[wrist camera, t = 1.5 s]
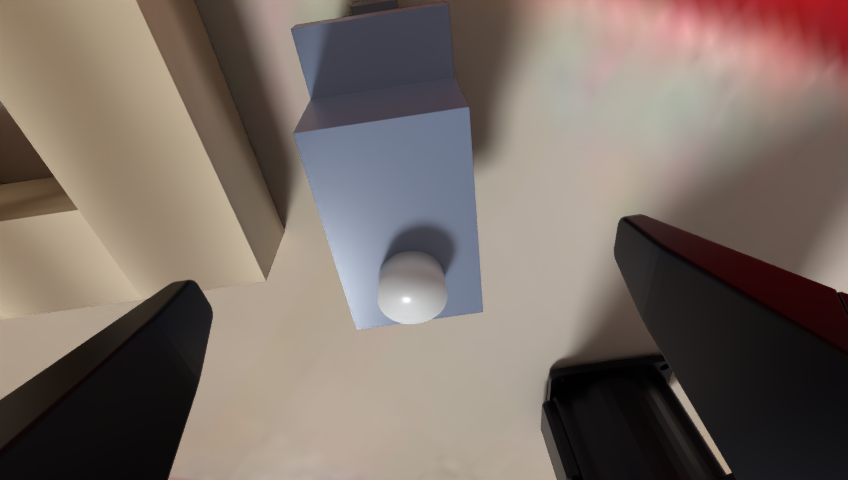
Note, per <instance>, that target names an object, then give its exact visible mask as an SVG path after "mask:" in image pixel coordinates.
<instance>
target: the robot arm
mask: <svg viewBox="0 0 848 480" xmlns="http://www.w3.org/2000/svg"><path fill="white" fill-rule="evenodd" d="M614 256H615V260H616V262H617V264H618V267H619V269H620V271H621V273H622V276H623V278H624V280H625V283H626V285H627V287H628V289H629V292H630V294H631V296H632V298H633V301H634V303H635V305H636V308H637V310H638V312H639V314H640V316H641V318H642V320H643V322H644V324H645V326H646V327H647V329H648V331H649V333H650V334H651V336H652V338H653V339H654V341H655V343H656V345H657V346H658V348H659V350H660V351H661V353H662V355H658V356H651V357H643V358H636V359H629V360H622V361H614V362H607V363H600V364H593V365H585V366H578V367H571V368H563V369H557V370H554V371H552V372H551V373H550V374H549V379H548V393H547V401H545V402H544V403H543V405H542V417H541V431H542V434H543V437H544V440H545V443H546V447H547V450H548V453H549V456H550V459H551V462H552V466H553V469H554V472H555V475H556V478H557V480H848V294H846V293H843V292H838V293H837V291H836V290H835V289H833V288H830V287H828V286H825V285H823V284H820V283H817V282H815V281H812V280H810V279H807V278H805V277H802V276H799V275H797V274H794V273H792V272H789V271H787V270H784V269H781V268H779V267H776V266H774V265H771V264H769V263H766V262H763V261H761V260H758V259H756V258H753V257H751V256H748V255H745V254H743V253H740V252H738V251H735V250H733V249H730V248H727V247H725V246H722V245H720V244H717V243H715V242H712V241H709V240H707V239H704V238H702V237H699V236H697V235H694V234H691V233H689V232H686V231H684V230H681V229H679V228H676V227H673V226H671V225H668V224H666V223H663V222H661V221H658V220H655V219H653V218H650V217H648V216H645V215H642V214H638V215H631V216H624V217H622V218H621V219H620V220H619V223H618V227H617V233H616V240H615V246H614ZM212 319H213V311H212V308H211V305H210V304H209V302H208V300H207V298H206V297H205V295H204V293H203V292H202V290H201V288H200V287H199V285H198V284H197V282H195V281H194V280H191V279H189V280H182V281H175V282H172V283H170V284H169V285H167V286H166V287H164V288H163V289H161V290H160V291H159V292H157V293H156V294H154V295H153V296H151V297H150V298H148V299H147V300H145V301H144V302H142V303H141V304H140V305H138V306H137V307H135V308H134V309H132V310H131V311H129V312H128V313H126V314H125V315H124V316H122V317H121V318H119V319H118V320H116V321H115V322H113V323H112V324H110V325H109V326H107V327H106V328H105V329H103V330H102V331H100V332H99V333H97V334H96V335H94V336H93V337H91V338H90V339H89V340H87V341H86V342H84V343H83V344H81V345H80V346H78V347H77V348H75V349H74V350H72V351H71V352H70V353H68V354H67V355H65V356H64V357H62V358H61V359H59V360H58V361H56V362H55V363H54V364H52V365H51V366H49V367H48V368H46V369H45V370H43V371H42V372H40V373H39V374H37V375H36V376H35V377H33V378H32V379H30V380H29V381H27V382H26V383H24V384H23V385H21V386H20V387H19V388H17V389H16V390H14V391H13V392H11V393H10V394H8V395H7V396H5V397H4V398H3V399H1V400H0V480H168V478H169V475H170V472H171V469H172V466H173V462H174V459H175V456H176V453H177V450H178V447H179V444H180V441H181V438H182V435H183V432H184V428H185V425H186V422H187V419H188V416H189V413H190V410H191V407H192V404H193V401H194V397H195V394H196V391H197V388H198V384H199V381H200V377H201V372H202V368H203V363H204V358H205V353H206V348H207V343H208V338H209V334H210V329H211V324H212ZM672 372H673V373H674V375H675V377H676V378H677V380H678V382H679V383H680V385H681V387H682V389H683V390H684V392H685V394H686V395H687V397H688V399H689V400H690V402H691V404H692V405H693V407H694V409H695V411H696V412H697V414H698V416H699V417H700V419H701V421H702V422H703V424H704V426H705V427H706V429H707V431H708V433H709V434H710V436H711V438H712V439H713V441H714V443H715V444H716V446H717V448H718V449H719V451H720V453H721V455H722V456H723V458H724V460H725V461H726V463H727V465H728V466H729V468H730V470H731V472H732V473H730V474H726V473H725V471H724V470H723V468H722V466H721V465H720V463H719V462H718V460H717V459H716V457H715V455H714V454H713V452H712V451H711V449H710V448H709V446H708V444H707V443H706V441H705V440H704V438H703V437H702V435H701V434H700V432H699V430H698V429H697V427H696V426H695V424H694V423H693V421H692V419H691V418H690V416H689V415H688V413H687V412H686V410H685V408H684V407H683V405H682V404H681V402H680V401H679V399H678V398H677V396H676V394H675V393H674V391H673V390H672V388H671V387H670V385H669V380H670V377H671V374H672Z"/></svg>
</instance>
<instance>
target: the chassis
mask: <svg viewBox="0 0 848 480" xmlns="http://www.w3.org/2000/svg"><path fill="white" fill-rule="evenodd" d="M0 101H1V102H2V104H3V105H4V106H5V108H6V109H7V111H8V112H9V113H10V115H11V116H12V118H13V119H14V120H15V122H16V123H17V125H18V126H19V127H20V129H21V130H22V132H23V133H24V134H25V136H26V137H27V139H28V140H29V141H30V143H31V144H32V146H33V147H34V148H35V150H36V151H37V153H38V154H39V155H40V157H41V158H42V160H43V161H44V162H45V164H46V165H47V167H48V168H49V169H50V171H51V172H52V174H53V175H54V176H55V177H49V178H43V179H36V180H29V181H23V182H16V183H9V184H3V185H2V184H1V183H0V320H1V319H7V318H14V317H21V316H28V315H35V314H42V313H49V312H56V311H63V310H70V309H77V308H84V307H91V306H98V305H105V304H112V303H118V302H125V301H132V300H139V299H146V298H150V297H151V296H153V295H154V294H156V293H157V292H159V291H160V290H161V289H163V288H164V287H166V286H167V285H169V284H170V283H172V282H175V281H182V280H189V279H191V280H194V281H195V282H197V284H198V285H199V287H200V288H201V290H209V289H216V288H222V287H229V286H236V285H243V284H250V283H257V282H264V281H266V280H267V277H268V274H269V272H270V269H271V266H272V264H273V261H274V258H275V256H276V253H277V250H278V248H279V245H280V242H281V240H282V237H283V234H284V232H285V230H284V228H283V225H282V223H281V220H280V218H279V215H278V212H277V210H276V207H275V205H274V202H273V200H272V197H271V195H270V192H269V190H268V187H267V184H266V182H265V179H264V177H263V174H262V172H261V169H260V167H259V164H258V161H257V159H256V156H255V154H254V151H253V149H252V146H251V144H250V141H249V139H248V136H247V133H246V131H245V128H244V126H243V123H242V121H241V118H240V116H239V113H238V110H237V108H236V105H235V103H234V100H233V98H232V95H231V93H230V90H229V88H228V85H227V82H226V80H225V77H224V75H223V72H222V70H221V67H220V65H219V62H218V59H217V57H216V54H215V52H214V49H213V47H212V44H211V42H210V39H209V37H208V34H207V31H206V29H205V26H204V24H203V21H202V19H201V16H200V14H199V11H198V8H197V6H196V3H195V1H194V0H0Z"/></svg>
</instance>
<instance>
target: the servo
mask: <svg viewBox="0 0 848 480" xmlns="http://www.w3.org/2000/svg"><path fill="white" fill-rule="evenodd" d="M351 10H352V15H353V16H349V17H342V18H336V19H329V20H323V21H317V22H310V23H304V24H298V25H295V26H294V27H293V28H291V32H292V35H293V39H294V42H295V46H296V49H297V53H298V56H299V60H300V63H301V67H302V70H303V74H304V77H305V81H306V84H307V88H308V91H309V95H310V98H311V100H310V102H309V104H308V106H307V108H306V110H305V111H304V113H303V115H302V117H301V119H300V121H299V123H298V125H297V127H296V129H295V131H294V133H293V135H294V138H295V141H296V145H297V148H298V151H299V154H300V157H301V160H302V163H303V166H304V169H305V172H306V175H307V178H308V181H309V184H310V188H311V191H312V194H313V197H314V200H315V203H316V206H317V209H318V212H319V215H320V218H321V221H322V224H323V227H324V231H325V234H326V237H327V240H328V243H329V246H330V249H331V252H332V255H333V258H334V261H335V264H336V267H337V270H338V274H339V277H340V280H341V283H342V286H343V289H344V292H345V295H346V298H347V301H348V304H349V307H350V310H351V313H352V316H353V320H354V323H355V326H356V329H357V330H359V329H366V328H373V327H380V326H387V325H394V324H401V323H404V324H418V323H423V322H426V321H429V320H431V319H437V318H444V317H451V316H458V315H465V314H472V313H479V312H483V304H482V289H481V275H480V260H479V245H478V230H477V215H476V200H475V185H474V170H473V155H472V141H471V126H470V111H469V105H468V103H467V101H466V99H465V97H464V95H463V93H462V91H461V89H460V87H459V85H458V83H457V81H456V79H455V76H454V65H453V53H452V41H451V29H450V17H449V5H448V3H447V2H446V1H444V2H438V3H431V4H425V5H419V6H412V7H406V8H400V9H397V4H396V0H363V1H357V2H354V3H353V4H352V6H351Z"/></svg>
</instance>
